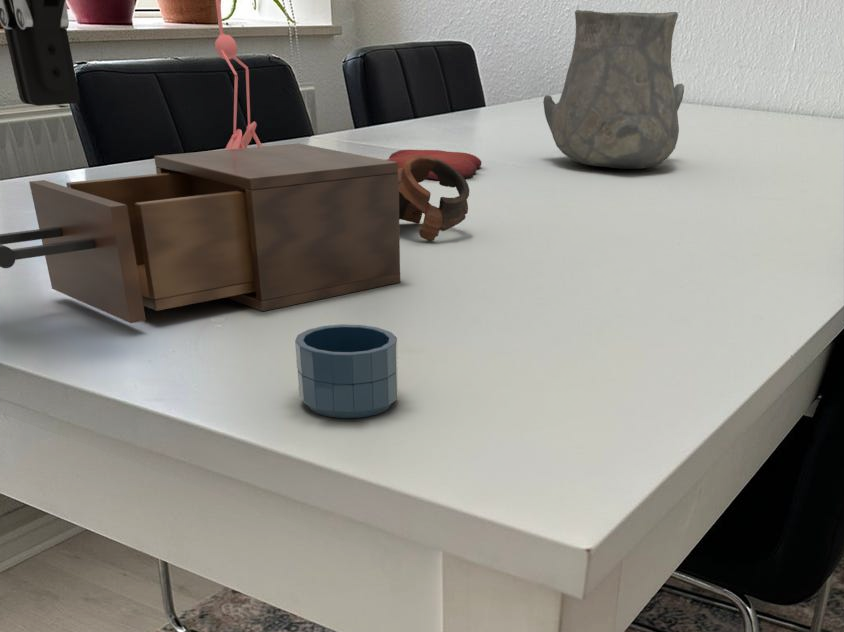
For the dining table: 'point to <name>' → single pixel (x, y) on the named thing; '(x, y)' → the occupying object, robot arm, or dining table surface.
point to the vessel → (618, 92)
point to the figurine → (235, 87)
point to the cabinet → (308, 218)
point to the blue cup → (347, 370)
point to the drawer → (140, 241)
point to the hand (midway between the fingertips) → (51, 102)
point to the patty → (457, 160)
